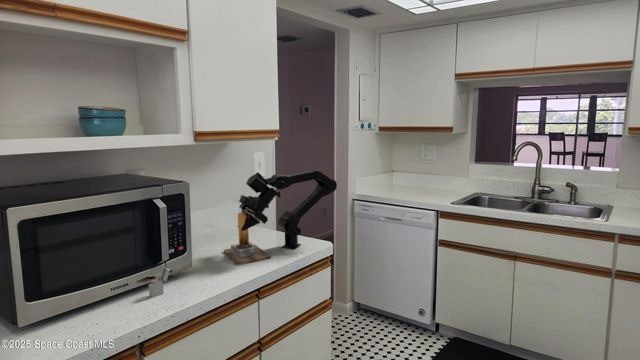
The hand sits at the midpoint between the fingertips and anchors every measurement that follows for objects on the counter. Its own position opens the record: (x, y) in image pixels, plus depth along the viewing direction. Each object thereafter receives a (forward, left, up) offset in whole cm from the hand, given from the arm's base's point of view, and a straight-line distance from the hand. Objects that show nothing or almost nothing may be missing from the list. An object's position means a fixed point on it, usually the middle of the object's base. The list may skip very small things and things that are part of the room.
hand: (240, 229), depth 165 cm
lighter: (+40, -6, -12) cm, 42 cm away
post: (-1, +1, -7) cm, 7 cm away
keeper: (-1, +1, -12) cm, 12 cm away
